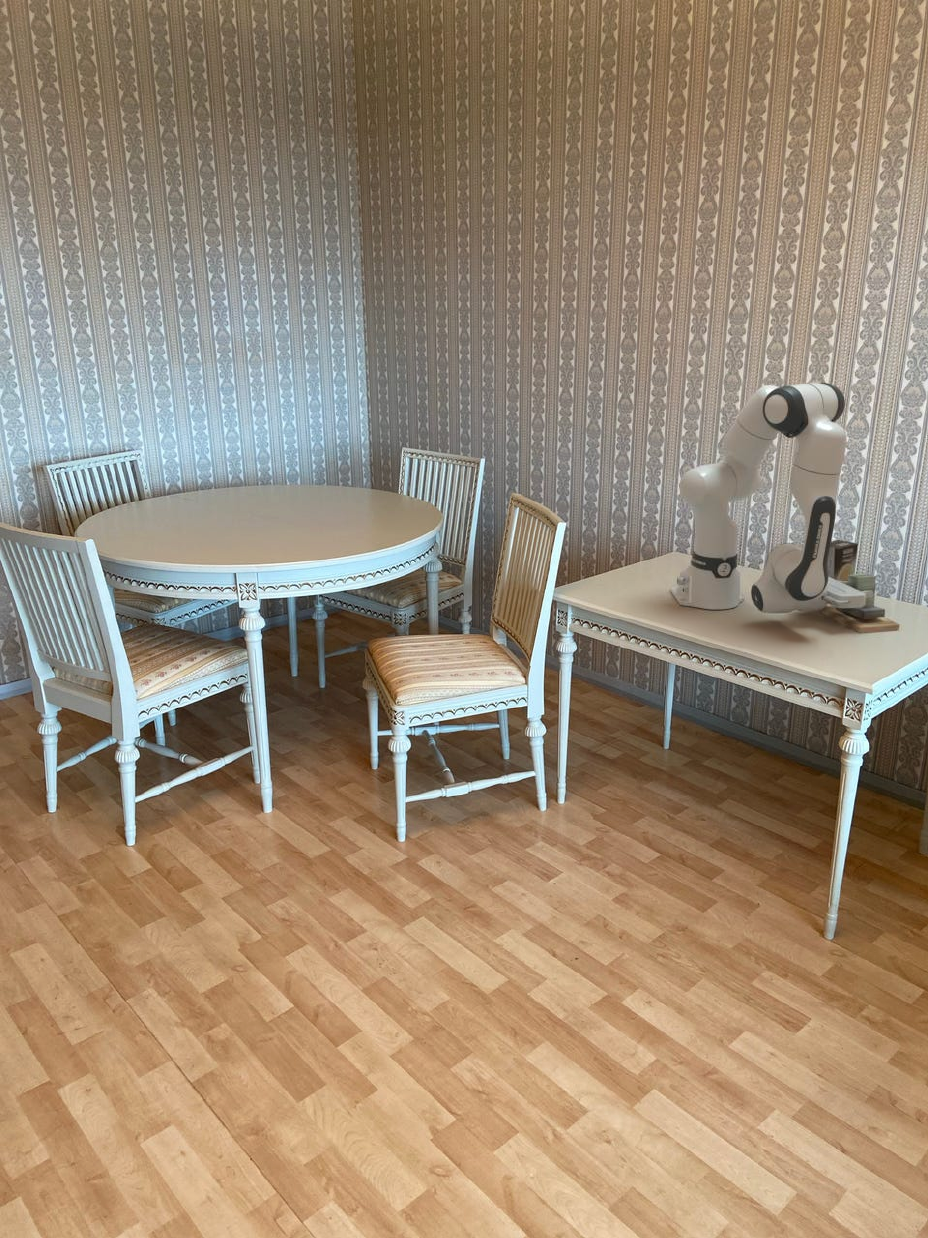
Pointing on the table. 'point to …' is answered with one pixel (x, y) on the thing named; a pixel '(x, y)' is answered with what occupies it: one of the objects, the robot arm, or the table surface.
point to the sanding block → (869, 610)
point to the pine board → (860, 621)
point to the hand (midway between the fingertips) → (862, 589)
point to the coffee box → (841, 559)
